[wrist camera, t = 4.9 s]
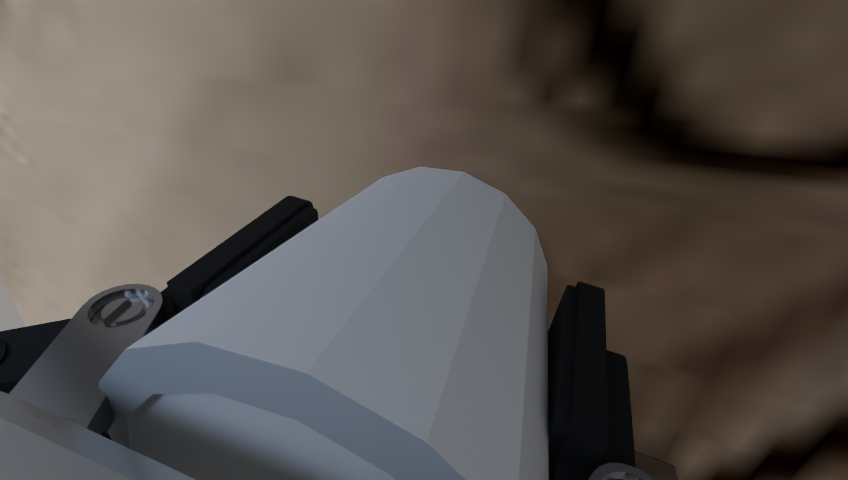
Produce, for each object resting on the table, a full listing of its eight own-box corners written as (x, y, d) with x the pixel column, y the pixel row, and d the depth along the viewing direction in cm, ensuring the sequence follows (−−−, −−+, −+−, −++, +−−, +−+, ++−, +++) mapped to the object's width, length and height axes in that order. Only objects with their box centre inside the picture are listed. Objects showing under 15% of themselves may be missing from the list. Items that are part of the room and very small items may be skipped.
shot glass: (639, 268, 10) (698, 658, 4) (465, 391, 14) (376, 676, 8) (402, 78, 9) (115, 229, 4) (293, 262, 14) (76, 468, 8)
